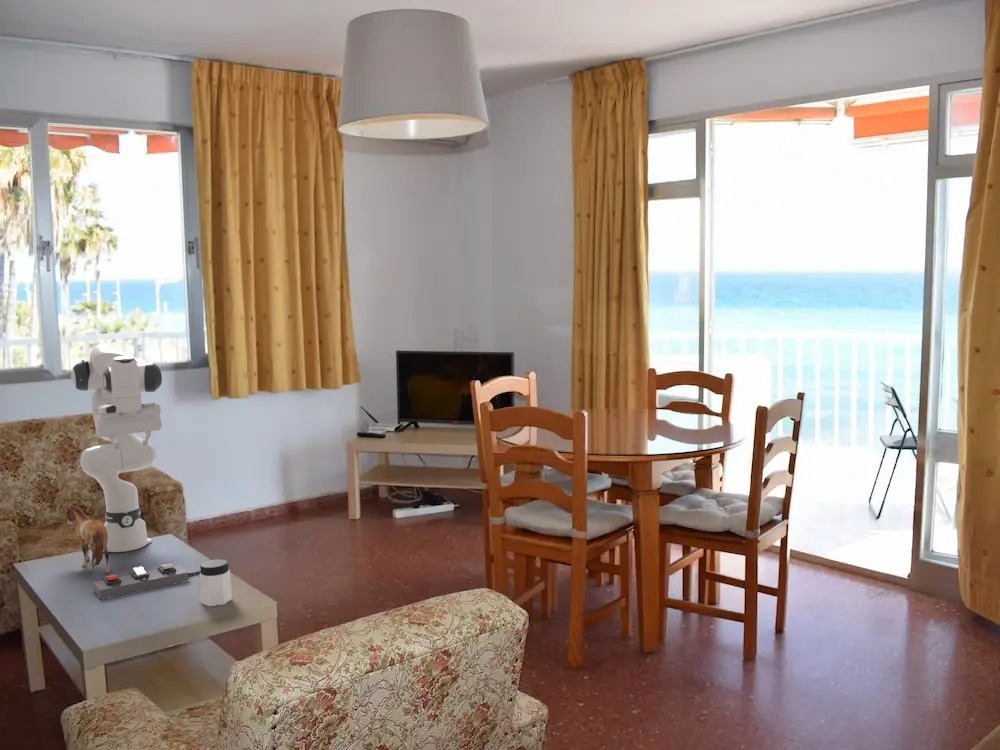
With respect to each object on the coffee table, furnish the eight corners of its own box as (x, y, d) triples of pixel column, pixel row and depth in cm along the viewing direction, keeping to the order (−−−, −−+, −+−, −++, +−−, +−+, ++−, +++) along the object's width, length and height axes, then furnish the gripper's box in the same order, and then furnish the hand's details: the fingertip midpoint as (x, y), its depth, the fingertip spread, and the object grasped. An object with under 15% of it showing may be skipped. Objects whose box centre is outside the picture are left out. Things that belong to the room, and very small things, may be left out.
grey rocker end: (160, 570, 304) (160, 565, 304) (169, 568, 306) (168, 563, 306) (164, 570, 300) (163, 565, 300) (173, 568, 302) (172, 564, 302)
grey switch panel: (93, 591, 294) (92, 579, 293) (199, 569, 313) (198, 558, 312) (100, 599, 286) (99, 587, 285) (208, 576, 305) (208, 565, 304)
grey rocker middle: (133, 572, 300) (133, 567, 299) (142, 570, 301) (142, 565, 301) (137, 579, 296) (137, 574, 295) (146, 577, 297) (146, 572, 297)
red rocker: (105, 581, 295) (105, 576, 295) (115, 579, 296) (114, 574, 296) (109, 581, 291) (108, 576, 291) (118, 580, 292) (117, 574, 292)
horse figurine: (68, 561, 327) (63, 504, 324) (91, 556, 332) (86, 500, 329) (94, 582, 303) (89, 521, 300) (118, 576, 308) (113, 516, 305)
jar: (236, 601, 281) (234, 562, 280) (212, 608, 275) (209, 569, 274) (221, 594, 287) (218, 557, 286) (197, 601, 281) (194, 563, 280)
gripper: (157, 401, 314) (160, 441, 315) (92, 408, 302) (96, 449, 303) (162, 403, 308) (165, 443, 310) (97, 409, 297) (100, 452, 298)
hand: (130, 446), depth 306 cm, fingers open, 8 cm apart
